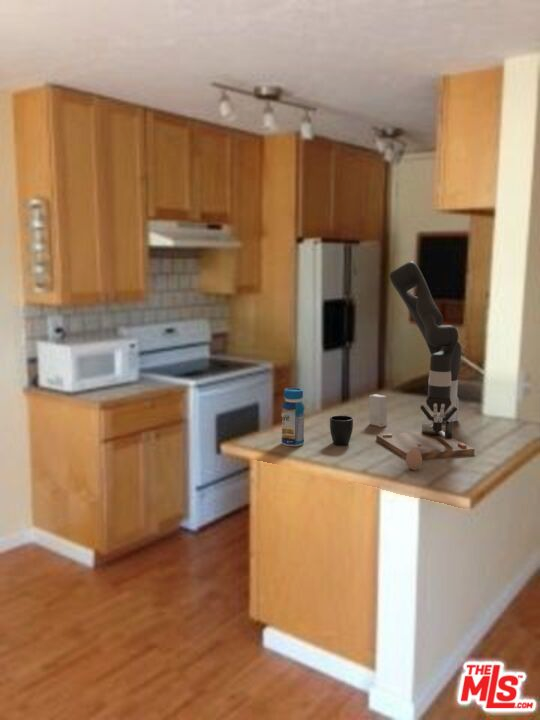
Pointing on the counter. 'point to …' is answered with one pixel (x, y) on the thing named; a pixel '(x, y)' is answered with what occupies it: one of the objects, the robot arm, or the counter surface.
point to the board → (424, 445)
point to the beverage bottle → (293, 417)
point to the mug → (341, 429)
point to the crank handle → (445, 432)
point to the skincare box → (378, 410)
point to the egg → (413, 459)
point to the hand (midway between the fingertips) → (437, 432)
